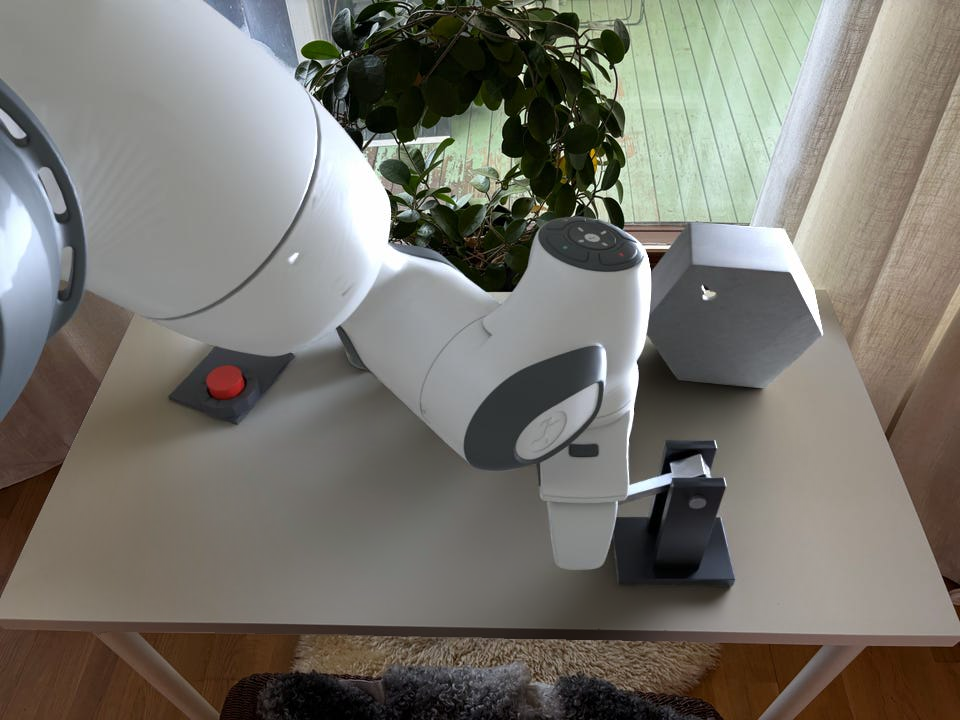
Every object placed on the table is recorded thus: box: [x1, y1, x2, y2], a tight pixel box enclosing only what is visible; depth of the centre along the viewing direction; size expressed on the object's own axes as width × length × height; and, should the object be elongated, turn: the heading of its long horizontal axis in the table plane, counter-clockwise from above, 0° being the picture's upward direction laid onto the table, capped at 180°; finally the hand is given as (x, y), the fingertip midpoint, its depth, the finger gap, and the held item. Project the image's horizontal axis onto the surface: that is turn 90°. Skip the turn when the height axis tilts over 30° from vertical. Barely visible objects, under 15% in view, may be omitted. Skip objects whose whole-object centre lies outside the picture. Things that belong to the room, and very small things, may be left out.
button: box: [206, 365, 245, 400], centre depth 92 cm, size 4×4×2 cm
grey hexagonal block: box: [646, 221, 824, 389], centre depth 90 cm, size 17×8×21 cm
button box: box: [167, 346, 296, 425], centre depth 95 cm, size 12×10×2 cm
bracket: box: [611, 439, 736, 587], centre depth 73 cm, size 11×7×15 cm, turn 89°
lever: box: [617, 454, 712, 506], centre depth 71 cm, size 15×3×3 cm, turn 89°
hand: (567, 500), depth 72 cm, fingers closed, pressing on lever
